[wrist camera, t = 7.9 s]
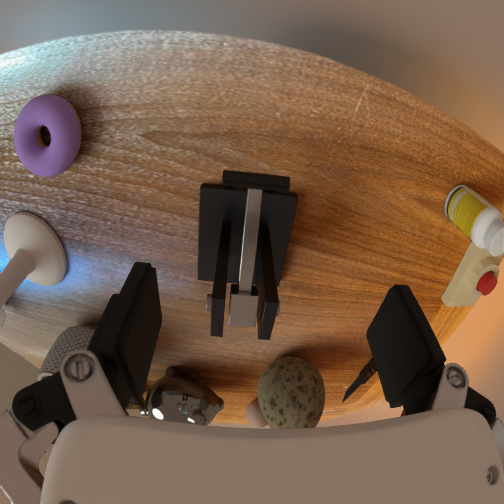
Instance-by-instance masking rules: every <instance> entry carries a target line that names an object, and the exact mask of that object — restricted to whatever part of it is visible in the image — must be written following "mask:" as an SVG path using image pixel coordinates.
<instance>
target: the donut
mask: <svg viewBox="0 0 504 504" xmlns="http://www.w3.org/2000/svg"><path fill="white" fill-rule="evenodd" d="M43 125H44V126H46V127H47V128H48V129H49V131H50V134H51V144H50V146H46V145H45V144H44V142H43V140H42V138H41V128H42V126H43ZM81 139H82V129H81V123H80V119H79V116H78V114H77V112H76V111H75V109H74V107H73V106H72V105H71V104H70V103H69V102H68V101H66V100H65V99H64V98H61V97H59V96H56V95H47V94H44V95H40V96H38V97H36V98H34V99H32V100H31V101H29V102H28V103H27V104H26V105H25V106H24V107H23V108H22V110H21V112H20V114H19V116H18V118H17V120H16V124H15V129H14V144H15V149H16V152H17V155H18V157H19V159H20V161H21V162H22V163H23V165H24V166H25V167H26V168H27V169H28V170H29V171H31V172H32V173H34V174H36V175H39V176H45V177H52V176H56V175H58V174H60V173H62V172H64V171H66V170H67V169H68V168H69V167H70V165H71V164H72V163H73V161H74V160H75V158H76V156H77V154H78V152H79V149H80V145H81Z"/></svg>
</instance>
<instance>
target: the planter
mask: <svg viewBox="0 0 504 504" xmlns="http://www.w3.org/2000/svg"><path fill="white" fill-rule="evenodd" d="M96 328H97V327H96V326H93V325H83V326H74V327H70V328H68V329H66V330H65V331H63V332H62V333H61V334H60V336H59V337H58V338H57V340H56V341H55V343H54V344H53V346H52V347H51V349H50V351H49V352H48V354H47V356H46V358H45V360H44V361H43V363H42V365H41V367H40V369H39V372H38V375H37V378H38V381H40V380H42V379H44V378H46V377H48V376H50V375H53V374H55V373H57V372H59V371H60V364H61V361H62V359H63V358H64V357H65V356H66V355H67V354H68V353H69V352H71V351H73V350H77V349H86V350H87V348H88V346H89V344H90V341H91V339H92V337H93V334H94V332H95V330H96Z"/></svg>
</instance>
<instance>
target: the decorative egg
mask: <svg viewBox="0 0 504 504" xmlns="http://www.w3.org/2000/svg"><path fill="white" fill-rule="evenodd" d="M258 402H259V406H260V409H261V412H262V414H263V416H264V418H265V420H266V422H267V423H268V425H269V426H270V427H271V428H272V429H294V428H315V427H316V425H317V424H318V422H319V420H320V418H321V415H322V412H323V408H324V404H325V387H324V383H323V379H322V377H321V375H320V373H319V372H318V370H317V369H316V368H315V367H314V366H313V365H312V364H311V363H310V362H308V361H307V360H305V359H302V358H299V357H294V356H288V357H283V358H280V359H278V360H276V361H274V362H272V363H271V364H270V365H269V366H268V367H267V368H266V369H265V370H264V372H263V374H262V376H261V378H260V381H259V384H258Z"/></svg>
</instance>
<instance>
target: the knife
mask: <svg viewBox="0 0 504 504" xmlns="http://www.w3.org/2000/svg"><path fill="white" fill-rule="evenodd" d="M376 371H377V368H376V365H375V362H374V358H373V359H371V360H370V362H369V363H368V364H367V365H366V366H365V368H363V370H362V371H361V372H360V374H359V377H358V378H357V379H356V380H355V382H354V383H353V384H352V385H351V386H350V387H349V389H348V390H347V391H346V393H345V396H344V399H343V401H342V403H343V402H344V401H345V400H346V399H347V398H348V397H349V396H350V395H351V394H352V393H353V392H354V391H355V390H356V389H357V388H358V387H359V386H360V385H361V384H364V383H365V382H366V381H368V380H369V378H370V377H372V375H373V374H374V373H375V372H376Z"/></svg>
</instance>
